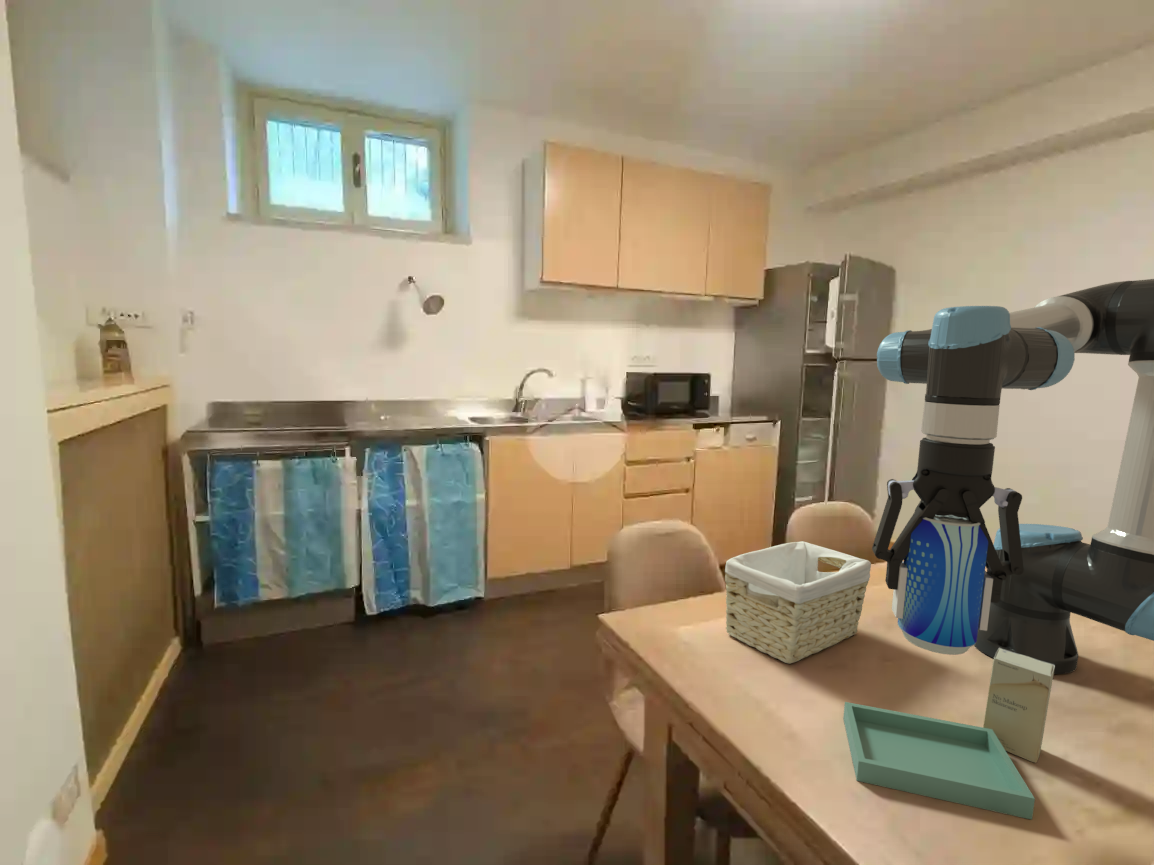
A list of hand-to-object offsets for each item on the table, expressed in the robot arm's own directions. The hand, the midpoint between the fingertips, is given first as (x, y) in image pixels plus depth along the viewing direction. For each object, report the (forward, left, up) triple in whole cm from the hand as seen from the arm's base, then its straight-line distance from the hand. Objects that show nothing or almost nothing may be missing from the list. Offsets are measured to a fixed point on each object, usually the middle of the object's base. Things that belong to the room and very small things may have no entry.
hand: (937, 619), depth 72 cm
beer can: (0, 0, -3) cm, 3 cm away
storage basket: (+14, -31, -20) cm, 39 cm away
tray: (0, 0, -19) cm, 19 cm away
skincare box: (-12, -8, -19) cm, 24 cm away
